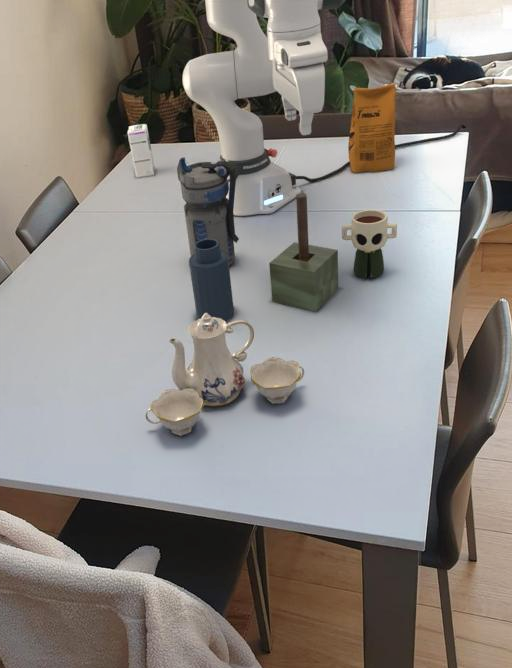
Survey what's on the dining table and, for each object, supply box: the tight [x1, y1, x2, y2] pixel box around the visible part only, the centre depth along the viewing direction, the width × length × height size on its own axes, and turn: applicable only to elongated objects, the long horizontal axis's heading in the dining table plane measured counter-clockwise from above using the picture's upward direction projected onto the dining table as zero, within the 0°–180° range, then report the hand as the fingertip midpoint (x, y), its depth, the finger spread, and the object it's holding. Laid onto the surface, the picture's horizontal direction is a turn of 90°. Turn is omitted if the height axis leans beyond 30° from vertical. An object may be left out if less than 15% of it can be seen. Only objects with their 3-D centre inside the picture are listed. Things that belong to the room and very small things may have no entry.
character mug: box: [341, 209, 398, 279], centre depth 148 cm, size 11×7×13 cm, turn 78°
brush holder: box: [268, 241, 339, 313], centre depth 146 cm, size 10×10×9 cm
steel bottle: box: [188, 239, 235, 323], centre depth 143 cm, size 8×8×16 cm
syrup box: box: [126, 123, 156, 178], centre depth 218 cm, size 6×6×14 cm
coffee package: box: [347, 83, 397, 174], centre depth 194 cm, size 10×12×22 cm
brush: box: [295, 192, 310, 262], centre depth 142 cm, size 2×2×22 cm
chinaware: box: [145, 313, 305, 437], centre depth 118 cm, size 28×17×17 cm, turn 114°
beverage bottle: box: [176, 156, 240, 267], centre depth 158 cm, size 10×13×25 cm
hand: (297, 126), depth 128 cm, fingers open, 8 cm apart
